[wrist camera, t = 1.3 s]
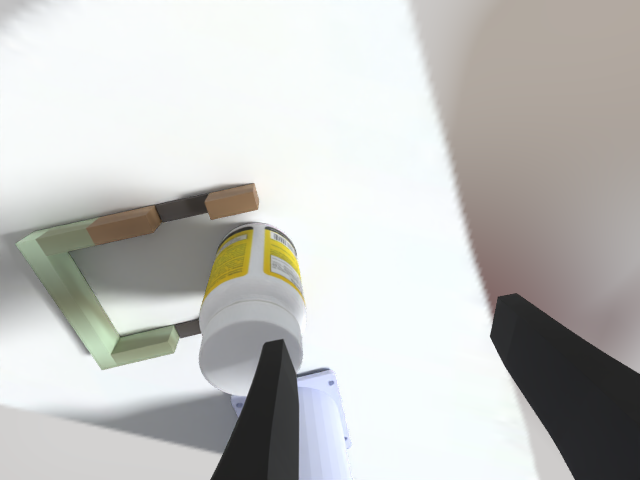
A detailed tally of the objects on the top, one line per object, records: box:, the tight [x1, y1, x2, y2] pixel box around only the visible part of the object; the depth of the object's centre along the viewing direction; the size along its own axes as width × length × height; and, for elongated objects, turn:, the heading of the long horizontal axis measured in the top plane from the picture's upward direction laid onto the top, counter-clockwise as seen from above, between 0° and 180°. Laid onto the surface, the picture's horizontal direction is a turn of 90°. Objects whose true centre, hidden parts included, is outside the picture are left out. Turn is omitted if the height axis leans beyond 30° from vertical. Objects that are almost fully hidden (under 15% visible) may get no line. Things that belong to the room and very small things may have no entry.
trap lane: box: [15, 183, 259, 370], centre depth 19 cm, size 9×12×2 cm
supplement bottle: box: [199, 223, 306, 396], centre depth 16 cm, size 5×5×8 cm
